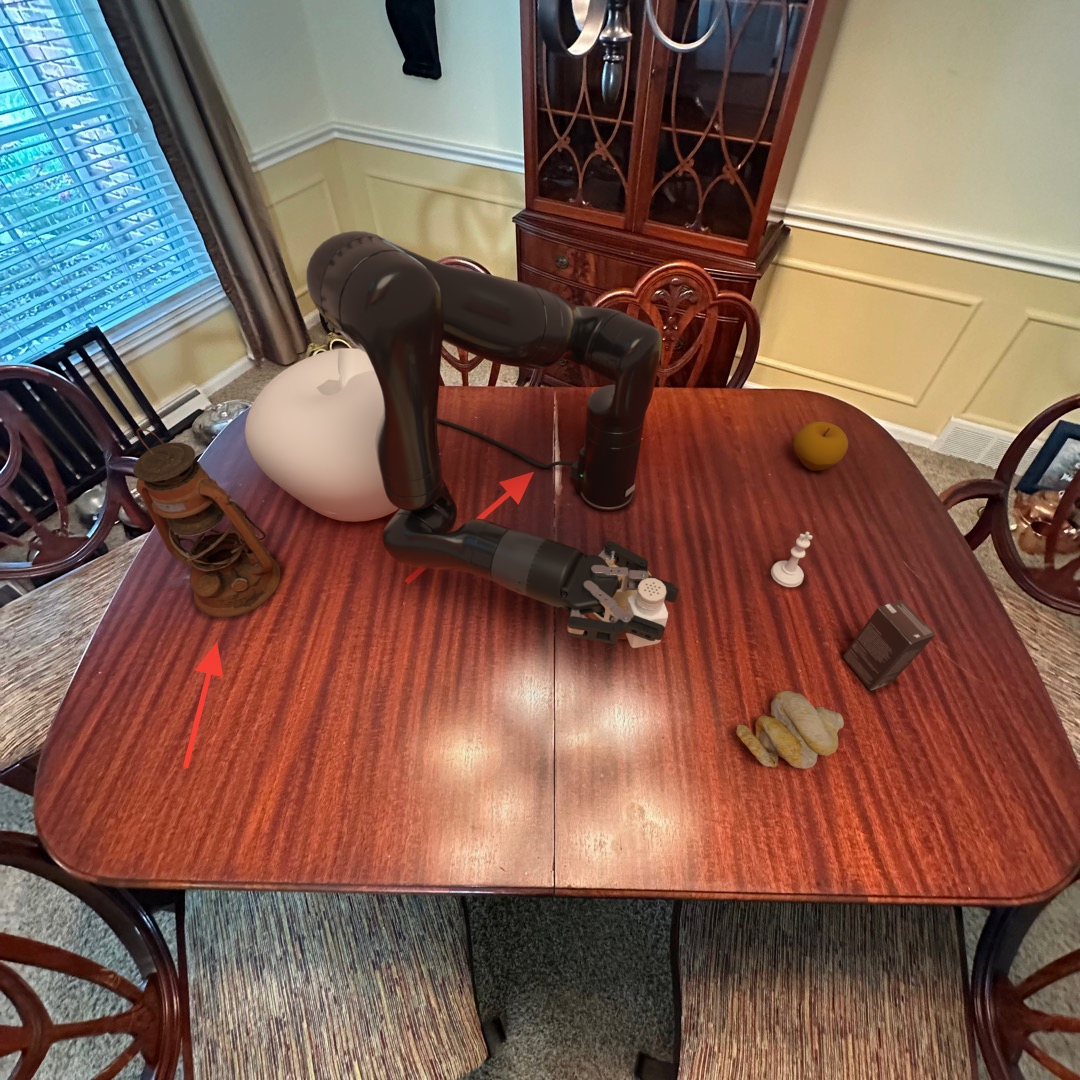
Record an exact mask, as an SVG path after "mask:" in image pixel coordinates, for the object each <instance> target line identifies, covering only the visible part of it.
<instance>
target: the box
mask: <svg viewBox="0 0 1080 1080" xmlns="http://www.w3.org/2000/svg"><path fill="white" fill-rule="evenodd" d="M936 635H937V634H936V632H935V631H934V630H933V629H931V627H930V626H929V625H928V624H927V623H926V622H925V621H924V620H923V619H922V618H921V617H920V616H919V615H918V614H917V613H916V612H915V610H914V609H912V607H911V606H910V605H909V604H908V603H907V602H906V601H905V600H904V599H899V600H896V601H893V602H890V603H887V604H884V605H880V606H877V608H876V609H875V611H874V612H873V613H872V615H871V616H870V618H868V620H867V622H866V623H865V624H864V626H863V627H862V629H861V630H860V631H859V633H858V634H857V635H856V637H855V638H854V640H853V641H852V642H851V643H850V645H849V646H848V648H847V649H846V651H844V653H843V655H842V658H843V659H844V661H845V662H846V663H847V664H848V666H849V667H850V668H851V669H852V671H853V672H854V673H855V674H856V675H857V677H858V678H859V679H860V681H861V682H862V683H863V684H864V686H865V687H866V688H867V689H868V690H869V691H874V690H876V689H878V688H882V687H884V686H887V685H889V684H891V683H894V682H895V680H897V678H898V677H899V676H900V675H901V674H902V673H903V672H904V671H905V670H906V669H907V667H909V665H910V664H911V663H912V662H913V661H914V660H915V659H916V658H917V656H918V655H919V654H920V653H921V652H922V651H923V650H924V648H926V646H927V645H928V644H929V643H930V642H931V641H932V640H933V639H934V638H935V637H936Z"/></svg>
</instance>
